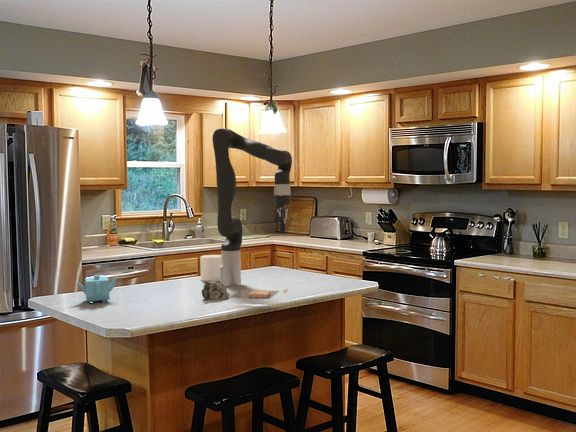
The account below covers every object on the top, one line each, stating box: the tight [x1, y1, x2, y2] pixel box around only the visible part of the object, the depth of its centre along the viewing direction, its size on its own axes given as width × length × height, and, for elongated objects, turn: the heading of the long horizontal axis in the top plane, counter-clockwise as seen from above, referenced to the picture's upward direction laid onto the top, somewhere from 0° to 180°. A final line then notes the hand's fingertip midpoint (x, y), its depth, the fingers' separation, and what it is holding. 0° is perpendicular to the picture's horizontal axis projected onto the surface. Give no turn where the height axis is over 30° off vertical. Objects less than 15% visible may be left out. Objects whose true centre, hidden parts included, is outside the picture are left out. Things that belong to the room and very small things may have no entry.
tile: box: [248, 289, 272, 299], centre depth 277 cm, size 8×2×8 cm
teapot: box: [76, 274, 120, 303], centre depth 275 cm, size 16×18×11 cm
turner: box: [281, 288, 289, 294], centre depth 285 cm, size 16×4×1 cm, turn 173°
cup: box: [199, 254, 222, 282], centre depth 327 cm, size 12×12×12 cm
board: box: [229, 289, 280, 300], centre depth 282 cm, size 18×18×1 cm
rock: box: [201, 280, 231, 301], centre depth 275 cm, size 13×10×10 cm
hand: (282, 231), depth 296 cm, fingers closed
